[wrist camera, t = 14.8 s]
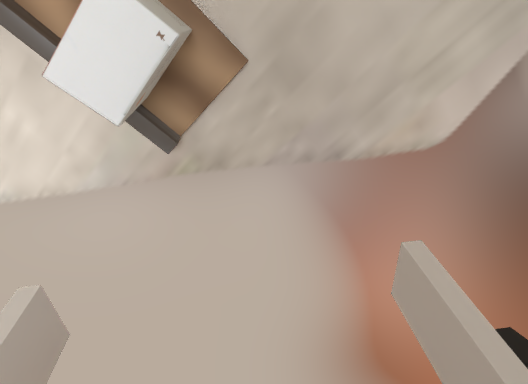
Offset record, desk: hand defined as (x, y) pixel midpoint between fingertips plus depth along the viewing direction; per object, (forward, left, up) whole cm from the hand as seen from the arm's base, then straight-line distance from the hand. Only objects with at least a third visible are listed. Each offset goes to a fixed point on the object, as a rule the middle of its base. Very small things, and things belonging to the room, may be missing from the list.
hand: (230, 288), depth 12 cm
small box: (+7, -7, -25) cm, 27 cm away
